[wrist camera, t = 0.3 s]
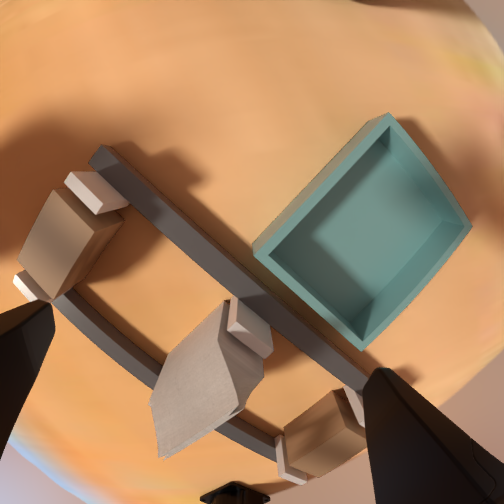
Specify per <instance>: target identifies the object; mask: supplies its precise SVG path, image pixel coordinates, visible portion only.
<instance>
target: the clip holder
mask: <svg viewBox="0 0 504 504" xmlns="http://www.w3.org/2000/svg"><path fill="white" fill-rule="evenodd" d="M88 164H89V165H91V166H92V167H93V168H94V169H95V170H96V171H97V172H78V171H71V172H70V173H69V175H68V176H67V178H66V180H65V181H64V183H65V184H66V185H67V186H68V187H69V188H70V189H71V190H72V191H73V192H74V194H75V195H76V196H77V197H78V198H79V199H80V200H81V201H82V202H83V203H84V204H85V205H86V206H87V207H88V208H89V209H90V210H91V211H92V212H93V213H94V214H95V215H97V214H100V213H104V212H108V211H112V210H116V209H119V208H123V207H127V206H128V205H129V204H131V205H133V206H134V207H135V208H136V209H137V210H138V211H139V212H140V213H141V214H142V215H143V216H144V217H146V218H147V219H148V220H149V221H150V222H151V223H152V224H153V225H154V226H155V227H156V228H158V229H159V230H160V231H161V232H162V233H163V234H164V235H165V236H166V237H168V238H169V239H170V240H171V241H172V242H173V243H174V244H175V245H176V246H178V247H179V248H180V249H181V250H182V251H183V252H184V253H186V254H187V255H188V256H189V257H190V258H191V259H192V260H193V261H195V262H196V263H197V264H198V265H199V266H200V267H202V268H203V269H204V270H205V271H206V272H207V273H208V274H210V275H211V276H212V277H213V278H214V279H215V280H217V281H218V282H219V283H220V284H221V285H222V286H224V287H225V288H226V289H227V290H228V291H229V292H231V293H232V294H233V295H234V296H233V297H232V298H231V301H230V309H229V317H228V326H227V331H228V332H230V333H231V334H232V335H233V336H235V337H236V338H237V339H239V340H240V341H241V342H243V343H244V344H245V345H246V346H248V347H249V348H250V349H252V350H253V351H254V352H256V353H257V354H258V355H260V356H261V357H262V358H264V359H266V358H267V357H268V356H269V355H270V354H271V353H272V352H274V348H273V341H272V335H271V329H270V326H272V327H273V328H274V329H275V330H277V331H278V332H279V333H280V334H282V335H283V336H284V337H285V338H287V339H288V340H289V341H290V342H292V343H293V344H294V345H295V346H297V347H298V348H299V349H300V350H302V351H303V352H304V353H305V354H307V355H308V356H309V357H310V358H312V359H313V360H314V361H316V362H317V363H318V364H319V365H321V366H322V367H323V368H325V369H326V370H327V371H329V372H330V373H331V374H332V375H334V376H335V377H336V378H338V379H339V380H340V381H342V382H343V383H344V384H346V385H345V386H343V388H344V390H345V393H346V395H347V397H348V400H349V402H350V404H351V407H352V409H353V411H354V413H355V416H356V418H357V420H358V423H359V424H360V425H361V426H363V427H364V428H365V423H364V410H363V399H362V390H363V387H364V385H365V384H366V382H367V381H368V379H369V378H370V376H371V375H369V374H368V373H367V372H366V371H365V370H363V369H362V368H361V367H360V366H359V365H358V364H356V363H355V362H354V361H353V360H352V359H350V358H349V357H348V356H347V355H346V354H345V353H343V352H342V351H341V350H340V349H339V348H337V347H336V346H335V345H334V344H333V343H332V342H330V341H329V340H328V339H327V338H326V337H325V336H323V335H322V334H321V333H320V332H319V331H318V330H316V329H315V328H314V327H313V326H312V325H311V324H309V323H308V322H307V321H306V320H305V319H304V318H302V317H301V316H300V315H299V314H298V313H297V312H295V311H294V310H293V309H292V308H291V307H290V306H288V305H287V304H286V303H285V302H284V301H283V300H282V299H280V298H279V297H278V296H277V295H276V294H275V293H274V292H272V291H271V290H270V289H269V288H268V287H267V286H265V285H264V284H263V283H262V282H261V281H260V280H259V279H257V278H256V277H255V276H254V275H253V274H252V273H251V272H249V271H248V270H247V269H246V268H245V267H244V266H243V265H241V264H240V263H239V262H238V261H237V260H236V259H235V258H234V257H232V256H231V255H230V254H229V253H228V252H227V251H226V250H224V249H223V248H222V247H221V246H220V245H219V244H218V243H217V242H215V241H214V240H213V239H212V238H211V237H210V236H209V235H208V234H206V233H205V232H204V231H203V230H202V229H201V228H200V227H199V226H197V225H196V224H195V223H194V222H193V221H192V220H191V219H190V218H189V217H187V216H186V215H185V214H184V213H183V212H182V211H181V210H180V209H178V208H177V207H176V206H175V205H174V204H173V203H172V202H171V201H170V200H169V199H167V198H166V197H165V196H164V195H163V194H162V193H161V192H160V191H159V190H157V189H156V188H155V187H154V186H153V185H152V184H151V183H150V182H149V181H148V180H146V179H145V178H144V177H143V176H142V175H141V174H140V173H139V172H138V171H137V170H135V169H134V168H133V167H132V166H131V165H130V164H129V163H128V162H127V161H126V160H125V159H123V158H122V157H121V156H120V155H119V154H118V153H117V152H116V151H115V150H114V149H113V148H112V147H110V146H106V145H101V146H100V147H99V148H98V150H97V151H96V153H95V154H94V155H93V157H92V158H91V160H90V161H89V162H88ZM13 283H14V284H15V285H16V286H17V288H18V289H19V290H20V291H21V292H22V293H23V295H24V296H25V297H26V298H27V299H28V300H29V301H30V302H32V301H34V300H37V299H41V300H43V301H46V302H49V303H52V304H53V305H54V306H55V307H56V308H57V309H58V310H59V311H60V312H61V313H62V314H63V315H64V316H65V317H66V318H67V319H68V320H69V321H70V322H71V323H72V324H74V325H75V326H76V327H77V328H78V329H79V330H80V331H81V332H82V333H83V334H84V335H85V336H87V337H88V338H89V339H90V340H91V341H92V342H93V343H94V344H96V345H97V346H98V347H99V348H100V349H101V350H103V351H104V352H105V353H106V354H107V355H108V356H110V357H111V358H112V359H113V360H115V361H116V362H117V363H118V364H119V365H121V366H122V367H123V368H124V369H126V370H127V371H128V372H130V373H131V374H132V375H133V376H135V377H136V378H137V379H139V380H140V381H141V382H143V383H144V384H145V385H147V386H148V387H150V388H151V389H152V390H154V388H155V385H156V383H157V380H158V378H159V375H160V373H161V370H162V368H163V366H162V365H160V364H159V363H158V362H156V361H155V360H154V359H152V358H151V357H150V356H149V355H147V354H146V353H145V352H144V351H142V350H141V349H140V348H139V347H137V346H136V345H135V344H134V343H132V342H131V341H130V340H129V339H128V338H126V337H125V336H124V335H123V334H122V333H120V332H119V331H118V330H117V329H116V328H115V327H114V326H112V325H111V324H110V323H109V322H108V321H107V320H106V319H104V318H103V317H102V316H101V315H100V314H99V313H98V312H97V311H96V310H95V309H93V308H92V307H91V306H90V305H89V304H88V303H87V302H86V301H85V300H84V299H83V298H82V297H81V296H80V295H79V294H78V293H77V292H76V291H75V290H74V289H73V288H72V287H71V288H70V289H68V290H67V291H65V292H64V293H62V294H61V295H60V296H58V297H57V298H55V299H54V300H53V299H52V298H51V297H50V296H49V295H48V294H47V293H46V292H45V291H44V290H43V289H42V288H41V287H40V286H39V284H38V283H37V282H36V281H35V280H34V279H33V278H32V277H31V276H30V275H29V273H28V272H27V271H26V270H24V271H22V272H19V273H17V274H16V275H15V278H14V280H13ZM148 405H149V406H151V403H150V401H149V403H148ZM214 430H215V431H217V432H219V433H221V434H222V435H224V436H226V437H228V438H230V439H231V440H233V441H235V442H237V443H239V444H241V445H242V446H244V447H246V448H248V449H250V450H252V451H254V452H256V453H258V454H260V455H262V456H264V457H266V458H268V459H270V460H272V461H275V462H277V467H278V476H279V477H281V478H283V479H286V480H288V481H291V482H293V483H296V484H299V485H303V484H305V483H307V482H308V479H307V474H306V472H303V471H301V470H299V469H296V468H294V467H292V466H289V462H288V455H287V448H286V441H285V436H283V435H281V434H280V435H278V436H277V437H275V438H273V437H271V436H270V435H268V434H266V433H264V432H262V431H261V430H259V429H257V428H255V427H254V426H252V425H250V424H248V423H247V422H245V421H243V420H242V419H240V418H238V417H237V416H233V417H232V418H230V419H229V420H227V421H226V422H224V423H223V424H221V425H220V426H218V427H217V428H215V429H214Z"/></svg>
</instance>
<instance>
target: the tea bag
mask: <svg viewBox="0 0 504 504" xmlns="http://www.w3.org/2000/svg"><path fill="white" fill-rule="evenodd" d="M229 309H230V305H229V304H228V303H227V302H226V301H223V302H222V303H221V304H220V305H219V306H218V307H217V308H216V309H215V310H214V311H213V312H212V313H210V314H209V315H208V316H207V317H206V318H205V319H204V320H203V321H202V322H201V323H200V324H199V325H198V326H197V327H196V328H195V329H194V330H193V331H192V332H191V333H190V334H189V335H188V336H187V337H185V338H184V339H183V340H182V341H181V342H180V343H179V344H178V345H177V346H176V347H175V348H174V349H173V350H172V351H171V352H170V353H169V354H168V356H167V358H166V361H165V363H164V365H163V368H162V370H161V373H160V375H159V378H158V380H157V383H156V385H155V388H154V390H153V393H152V395H151V398H150V403H151V409H152V415H153V420H154V425H155V430H156V436H157V443H158V458H159V457H162V456H165V455H166V456H165V458H164V460H165V459H167V458H169V457H171V456H172V455H174V454H176V453H177V452H179V451H181V450H182V449H184V448H186V447H187V446H189V445H190V444H192V443H194V442H195V441H197V440H198V439H200V438H202V437H203V436H205V435H206V434H208V433H209V432H211V431H212V430H214V429H215V428H217V427H218V426H220V425H221V424H223V423H224V422H226V421H227V420H229V419H230V418H232V417H233V416H235V415H236V414H237V413H239V412H240V411H242V410H243V409H244V408H245V405H246V401H247V399H248V397H249V395H250V394H251V392H252V391H253V389H254V388H255V387H256V386H257V385H258V384H259V382H260V381H261V380H262V379H263V378H264V369H263V358H262V357H261V356H260V355H258V354H257V353H256V352H254V351H253V350H252V349H250V348H249V347H248V346H246V345H245V344H244V343H243V342H241V341H240V340H239V339H237V338H236V337H235V336H233V335H232V334H231V333H230V332H228V331H227V326H228V317H229ZM164 460H163V461H164Z"/></svg>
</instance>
